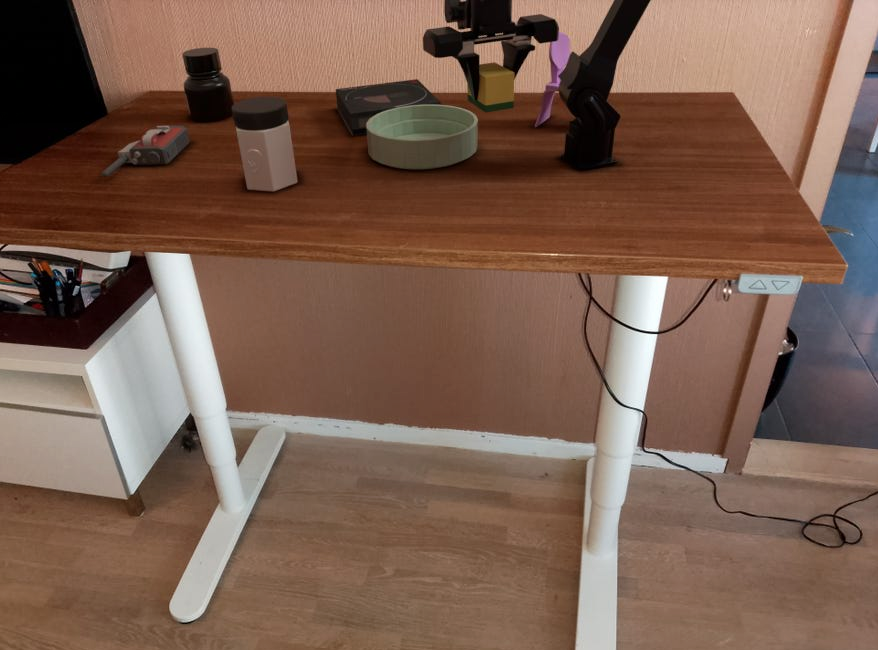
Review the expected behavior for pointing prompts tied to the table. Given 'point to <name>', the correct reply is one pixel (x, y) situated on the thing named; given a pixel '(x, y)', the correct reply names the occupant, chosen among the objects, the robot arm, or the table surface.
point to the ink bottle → (206, 85)
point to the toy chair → (554, 74)
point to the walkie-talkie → (153, 148)
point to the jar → (265, 143)
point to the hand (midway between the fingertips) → (490, 97)
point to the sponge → (494, 88)
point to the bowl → (422, 136)
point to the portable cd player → (379, 101)
